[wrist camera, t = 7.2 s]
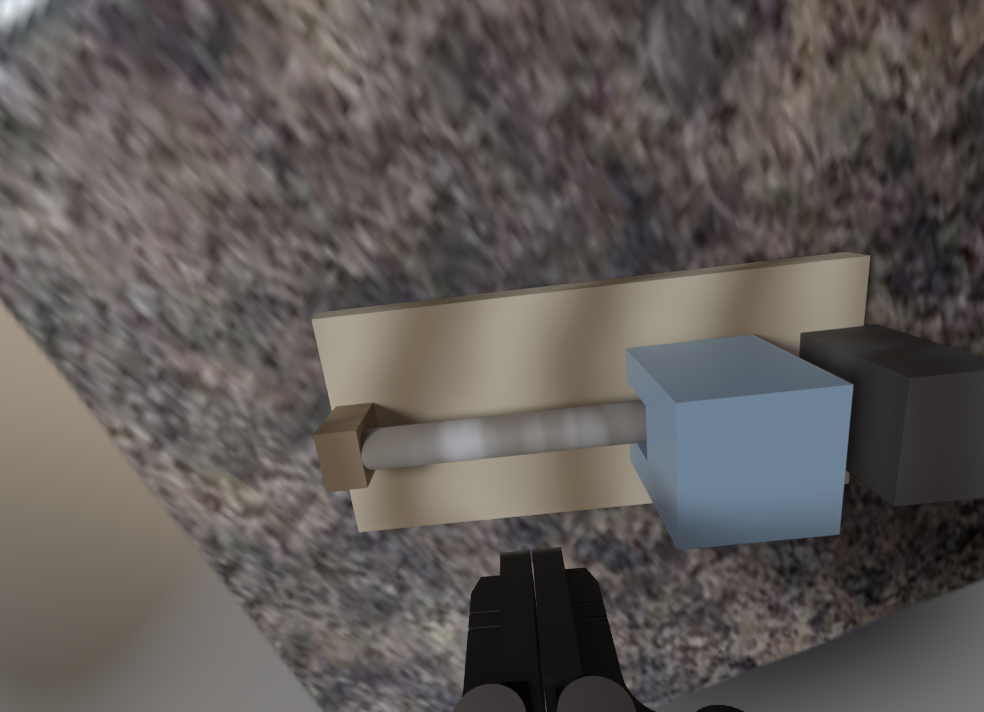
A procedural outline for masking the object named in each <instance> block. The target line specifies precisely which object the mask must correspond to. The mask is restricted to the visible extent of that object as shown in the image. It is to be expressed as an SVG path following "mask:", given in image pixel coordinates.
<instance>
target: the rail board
mask: <svg viewBox="0 0 984 712" xmlns="http://www.w3.org/2000/svg"><path fill="white" fill-rule="evenodd" d="M869 265H870V255H863V254H855V253H847V252H841V253H833V254H824V255H815V256H806V257H798V258H789V259H780V260H772V261H763V262H754V263H746V264H737V265H728V266H719V267H711V268H702V269H693V270H685V271H676V272H667V273H659V274H650V275H641V276H633V277H624V278H615V279H606V280H598V281H589V282H580V283H572V284H563V285H554V286H546V287H537V288H528V289H520V290H511V291H502V292H493V293H485V294H476V295H467V296H459V297H450V298H441V299H433V300H424V301H415V302H407V303H398V304H389V305H380V306H372V307H363V308H354V309H346V310H337V311H328V312H323V313H321V314H320V315H318V316H317V317H315V318H313V319H312V323H313V328H314V332H315V337H316V341H317V346H318V350H319V355H320V359H321V364H322V368H323V373H324V377H325V382H326V386H327V391H328V395H329V400H330V404H331V409H332V412H331V413H330V414H329V416H328V417H327V418H326V419H325V421H324V422H323V423H322V425H321V426H320V427H319V428H318V430H317V431H316V432H315V433H314V435H313V437H314V441H315V446H316V450H317V454H318V458H319V462H320V467H321V471H322V475H323V479H324V483H325V488H326V492H333V491H343V490H350V494H351V499H352V503H353V508H354V512H355V517H356V521H357V526H358V530H359V532H365V531H375V530H385V529H395V528H406V527H416V526H426V525H436V524H446V523H456V522H466V521H476V520H487V519H497V518H507V517H517V516H527V515H537V514H547V513H557V512H567V511H578V510H588V509H598V508H608V507H618V506H628V505H638V504H648V503H653V502H652V500H651V498H650V496H649V495H648V493H647V491H646V489H645V487H644V485H643V483H642V481H641V480H640V478H639V476H638V474H637V472H636V470H635V468H634V467H633V465H632V463H631V461H630V444H633V443H643V442H647V434H646V406H645V404H644V403H643V402H642V401H641V399H640V398H639V397H638V395H637V394H636V393H635V391H634V390H633V389H632V387H631V386H630V385H629V383H628V382H627V367H626V348H635V347H644V346H653V345H662V344H672V343H681V342H690V341H699V340H708V339H717V338H726V337H735V336H744V335H755V336H757V337H759V338H761V339H763V340H765V341H767V342H769V343H771V344H773V345H775V346H777V347H779V348H781V349H783V350H785V351H787V352H789V353H791V354H793V355H795V356H797V357H799V358H801V359H803V360H805V361H807V362H809V363H811V364H813V365H815V366H817V367H819V368H821V369H823V370H825V371H827V372H829V373H831V374H833V375H835V376H837V377H839V378H841V379H843V380H845V381H847V382H850V383H852V384H853V394H852V405H851V416H850V427H849V437H848V448H847V459H846V470H845V481H844V484H849V475H850V474H851V475H853V476H854V477H855V478H857V479H858V480H859V481H861V482H862V483H863V484H865V485H866V486H867V487H868V488H870V489H871V490H872V491H874V492H875V493H876V494H878V495H879V496H880V497H882V498H883V499H884V500H886V501H887V502H888V503H890V504H891V505H892V506H894V507H895V506H905V505H915V504H926V503H936V502H946V501H956V500H967V499H977V498H984V358H983V357H980V356H976V355H973V354H970V353H967V352H964V351H960V350H957V349H954V348H951V347H947V346H944V345H941V344H938V343H935V342H931V341H928V340H925V339H922V338H918V337H915V336H912V335H909V334H906V333H902V332H899V331H896V330H893V329H890V328H886V327H883V326H880V325H877V324H876V325H867V326H864V317H865V307H866V296H867V286H868V275H869Z"/></svg>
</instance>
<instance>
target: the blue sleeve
mask: <svg viewBox="0 0 984 712" xmlns="http://www.w3.org/2000/svg"><path fill="white" fill-rule="evenodd" d="M626 367H627V382H628V383H629V385H630V386H631V387H632V389H633V390H634V391H635V393H636V394H637V395H638V397H639V398H640V399H641V401H642V402H643V403H644V404H645V406H646V434H647V442H643V443H633V444H630V461H631V463H632V465H633V467H634V468H635V470H636V472H637V474H638V476H639V478H640V480H641V481H642V483H643V485H644V487H645V489H646V491H647V493H648V495H649V496H650V498H651V500H652V502H653V504H654V506H655V508H656V509H657V511H658V513H659V515H660V517H661V519H662V521H663V523H664V524H665V526H666V528H667V530H668V532H669V534H670V536H671V537H672V539H673V541H674V543H675V545H676V547H677V549H678V550H683V549H693V548H704V547H714V546H725V545H735V544H746V543H756V542H767V541H777V540H787V539H798V538H808V537H819V536H829V535H840V524H841V513H842V502H843V492H844V481H845V470H846V459H847V448H848V437H849V427H850V416H851V405H852V394H853V384H852V383H850V382H847V381H845V380H843V379H841V378H839V377H837V376H835V375H833V374H831V373H829V372H827V371H825V370H823V369H821V368H819V367H817V366H815V365H813V364H811V363H809V362H807V361H805V360H803V359H801V358H799V357H797V356H795V355H793V354H791V353H789V352H787V351H785V350H783V349H781V348H779V347H777V346H775V345H773V344H771V343H769V342H767V341H765V340H763V339H761V338H759V337H757V336H755V335H744V336H735V337H726V338H717V339H708V340H699V341H690V342H681V343H672V344H662V345H653V346H644V347H635V348H626Z"/></svg>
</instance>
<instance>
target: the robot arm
mask: <svg viewBox="0 0 984 712" xmlns="http://www.w3.org/2000/svg"><path fill="white" fill-rule="evenodd" d="M532 556H533V568H534V580H535V590H534V582H533V573H532V565H531V557H530V550H527V551H516V552H505V553H501V554H500V575H499V576H488V577H481V578H480V580H479V581H478V583H477V585H476V586H475V588H474V590H473V591H472V593H471V602H470V616H469V627H468V628H469V631H468V639H467V651H466V663H465V676H464V688H463V695H462V698H461V699H460V700H459V701H458V703H457V705H456V706H455V708H454V711H453V712H546V708H545V699H546V707H547V712H655V711H653V710H651V709H649V708H647V707H646V706H644V705H643V704H642V703H640V702H639V701H638V700H637V699H636V698H635V697H634V696H633V695H632V694H631V693H630V691H629V690H628V688H627V687H626V685H625V683H624V680H623V677H622V673H621V670H620V666H619V662H618V658H617V654H616V650H615V646H614V642H613V638H612V634H611V630H610V626H609V622H608V619H607V614H606V611H605V607H604V604H603V599H602V595H601V591H600V587H599V583H598V581H597V580H596V579H595V578H594V577H593V576H592V574H591V573H590V572H589V571H588V570H587V569H586V568H575V569H565V567H564V562H563V556H562V550H561V547H558V548H547V549H536V550H532ZM535 591H536V598H535ZM536 603H537V607H536ZM537 615H538V616H537ZM543 683H544V684H543ZM544 691H545V696H544ZM697 712H744V711H741V710H739V709H737V708H734V707H731V706H725V705H711V706H706V707H704V708H701V709H700V710H698V711H697Z"/></svg>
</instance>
